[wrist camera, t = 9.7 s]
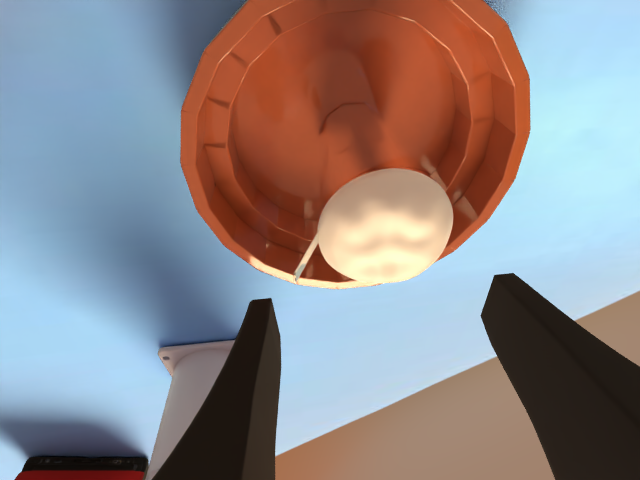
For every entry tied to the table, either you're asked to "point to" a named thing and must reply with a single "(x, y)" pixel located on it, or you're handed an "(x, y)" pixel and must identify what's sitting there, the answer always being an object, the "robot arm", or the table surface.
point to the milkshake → (375, 202)
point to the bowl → (348, 88)
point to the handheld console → (84, 468)
